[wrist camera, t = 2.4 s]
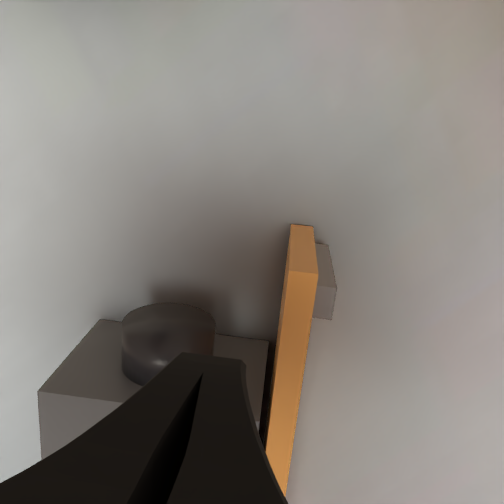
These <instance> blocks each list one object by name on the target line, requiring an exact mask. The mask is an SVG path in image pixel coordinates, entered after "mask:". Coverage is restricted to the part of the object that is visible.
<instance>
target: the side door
mask: <svg viewBox="0 0 504 504" xmlns="http://www.w3.org/2000/svg"><path fill="white" fill-rule="evenodd" d="M336 290H337V286H336V281H335V276H334V271H333V267H332V262H331V257H330V252H329V247H328V245H325V244H316V243H315V240H314V231H313V227H311V226H303V225H294V224H291V229H290V237H289V245H288V253H287V261H286V269H285V277H284V285H283V293H282V301H281V309H280V317H279V325H278V333H277V341H276V349H275V357H274V365H273V373H272V381H271V389H270V397H269V404H268V412H267V420H266V428H265V436H264V444H263V447H264V450H265V452H266V455H267V457H268V460H269V463H270V465H271V468H272V470H273V472H274V475H275V477H276V479H277V482H278V484H279V486H280V488H281V490H282V492H283V494H284V496H285V495H286V488H287V481H288V475H289V468H290V461H291V455H292V448H293V441H294V435H295V428H296V421H297V415H298V408H299V401H300V395H301V388H302V381H303V375H304V368H305V361H306V355H307V348H308V341H309V335H310V328H311V321H312V318H320V319H328V320H332V315H333V308H334V302H335V296H336Z"/></svg>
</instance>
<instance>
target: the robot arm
mask: <svg viewBox="0 0 504 504" xmlns="http://www.w3.org/2000/svg"><path fill="white" fill-rule="evenodd" d="M0 504H288V503H287V500H286V498H285V496H284V494H283V492H282V490H281V488H280V486H279V484H278V482H277V479H276V477H275V475H274V472H273V470H272V468H271V465H270V463H269V460H268V457H267V455H266V452H265V450H264V447H263V444H262V441H261V439H260V436H259V433H258V429H257V426H256V423H255V419H254V416H253V412H252V409H251V405H250V401H249V395H248V390H247V384H246V364H245V363H244V362H243V361H242V360H240V359H232V358H225V357H217V356H210V355H202V354H194V353H187V352H182V353H180V354H179V355H177V356H176V357H175V358H174V359H173V360H172V361H171V362H170V363H168V364H167V365H166V366H165V367H164V368H163V369H162V370H161V371H160V372H159V373H157V374H156V375H155V376H154V377H153V378H152V379H151V380H150V381H148V382H147V383H146V384H145V385H144V386H143V387H142V388H140V389H139V390H138V391H137V392H136V393H134V394H133V395H132V396H131V397H130V398H128V399H127V400H126V401H125V402H123V403H122V404H121V405H120V406H119V407H117V408H116V409H115V410H114V411H112V412H111V413H110V414H108V415H107V416H106V417H104V418H103V419H102V420H100V421H99V422H97V423H96V424H95V425H93V426H92V427H91V428H89V429H88V430H87V431H85V432H84V433H83V434H81V435H80V436H78V437H77V438H75V439H74V440H73V441H71V442H70V443H68V444H67V445H65V446H64V447H62V448H61V449H59V450H58V451H56V452H54V453H53V454H51V455H49V456H48V457H46V458H44V459H43V460H41V461H39V462H38V463H36V464H35V465H33V466H31V467H29V468H28V469H26V470H24V471H22V472H21V473H19V474H17V475H15V476H13V477H11V478H9V479H7V480H6V481H4V482H2V483H0Z"/></svg>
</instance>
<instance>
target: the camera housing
mask: <svg viewBox="0 0 504 504" xmlns="http://www.w3.org/2000/svg"><path fill="white" fill-rule="evenodd" d="M215 327H216V324H215V321H214V319H213V317H212V316H211V315H210V314H208V313H207V312H205V311H204V310H201V309H199V308H197V307H193V306H190V305H185V304H178V303H158V304H151V305H146V306H143V307H140V308H137V309H135V310H133V311H131V312H130V313H128V314H127V315H126V316H125V317H124V319H123V321H122V322H117V321H109V320H101V319H100V320H99V321H98V322H97V323H96V324H95V325H94V327H93V328H92V329H91V330H90V331H89V332H88V334H87V335H86V336H85V337H84V338H83V339H82V340H81V342H80V343H79V344H78V345H77V346H76V347H75V349H74V350H73V351H72V352H71V353H70V354H69V355H68V357H67V358H66V359H65V360H64V361H63V362H62V364H61V365H60V366H59V367H58V368H57V369H56V370H55V372H54V373H53V374H52V375H51V376H50V377H49V378H48V380H47V381H46V382H45V383H44V384H43V385H42V387H41V388H40V389H39V390H38V391H37V392H38V408H39V424H40V441H41V457H42V460H43V459H44V458H46V457H48V456H49V455H51V454H53V453H54V452H56V451H58V450H59V449H61V448H62V447H64V446H65V445H67V444H68V443H70V442H71V441H73V440H74V439H75V438H77V437H78V436H80V435H81V434H83V433H84V432H85V431H87V430H88V429H89V428H91V427H92V426H93V425H95V424H96V423H97V422H99V421H100V420H102V419H103V418H104V417H106V416H107V415H108V414H110V413H111V412H112V411H114V410H115V409H116V408H117V407H119V406H120V405H121V404H122V403H123V402H125V401H126V400H127V399H128V398H130V397H131V396H132V395H133V394H134V393H136V392H137V391H138V390H139V389H140V388H142V387H143V386H144V385H145V384H146V383H147V382H148V381H150V380H151V379H152V378H153V377H154V376H155V375H156V374H157V373H159V372H160V371H161V370H162V369H163V368H164V367H165V366H166V365H167V364H168V363H170V362H171V361H172V360H173V359H174V358H175V357H176V356H177V355H179V354H180V353H182V352H187V353H194V354H202V355H210V356H217V357H225V358H232V359H240V360H242V361H243V362H244V363H245V364H246V384H247V390H248V395H249V401H250V405H251V409H252V412H253V416H254V419H255V423H256V426H257V429H258V432H259V423H260V415H261V406H262V397H263V388H264V379H265V370H266V362H267V353H268V344H269V341H265V340H257V339H249V338H241V337H234V336H226V335H218V334H215Z"/></svg>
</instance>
